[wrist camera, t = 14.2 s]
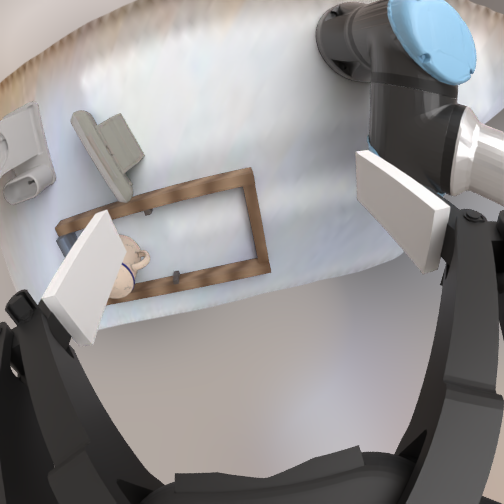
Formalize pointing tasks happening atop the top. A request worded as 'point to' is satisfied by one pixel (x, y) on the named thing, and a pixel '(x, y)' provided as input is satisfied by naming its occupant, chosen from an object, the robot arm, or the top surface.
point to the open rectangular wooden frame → (172, 195)
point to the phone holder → (25, 154)
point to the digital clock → (110, 150)
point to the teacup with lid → (129, 268)
